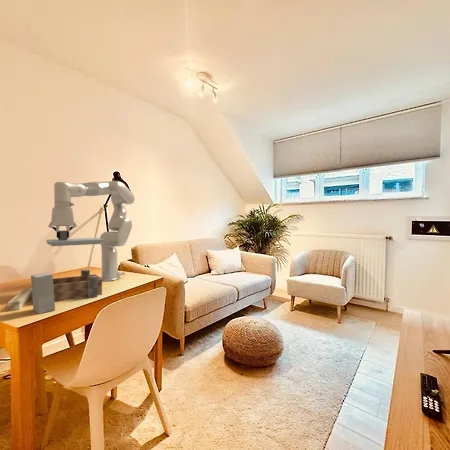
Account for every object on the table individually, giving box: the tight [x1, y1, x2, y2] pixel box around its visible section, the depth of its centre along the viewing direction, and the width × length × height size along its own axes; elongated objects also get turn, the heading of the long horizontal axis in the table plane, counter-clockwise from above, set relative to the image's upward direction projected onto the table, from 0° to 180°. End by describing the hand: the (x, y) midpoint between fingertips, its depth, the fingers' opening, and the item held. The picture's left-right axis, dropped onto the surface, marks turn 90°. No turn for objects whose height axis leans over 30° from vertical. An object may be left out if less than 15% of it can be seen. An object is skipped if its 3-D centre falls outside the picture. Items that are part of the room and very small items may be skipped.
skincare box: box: [30, 272, 56, 314], centre depth 113 cm, size 8×7×16 cm
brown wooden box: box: [53, 269, 103, 302], centre depth 136 cm, size 26×23×10 cm
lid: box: [46, 230, 104, 247], centre depth 145 cm, size 26×16×8 cm, turn 127°
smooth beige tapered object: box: [7, 287, 33, 312], centre depth 124 cm, size 4×24×4 cm, turn 24°
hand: (62, 238), depth 141 cm, fingers closed on lid, 3 cm apart
